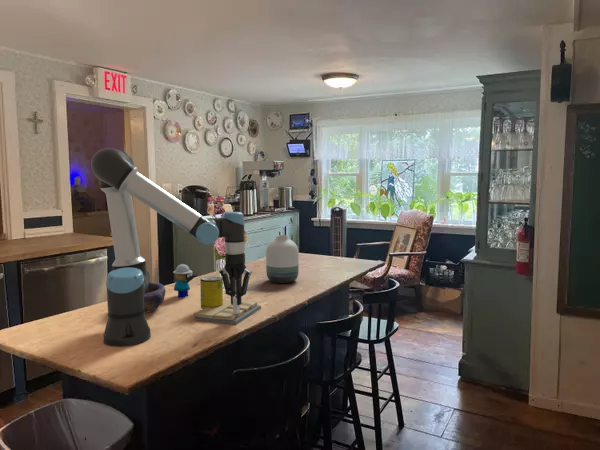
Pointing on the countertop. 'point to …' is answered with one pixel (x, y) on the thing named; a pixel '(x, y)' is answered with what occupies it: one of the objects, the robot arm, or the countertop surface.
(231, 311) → the tan flat block
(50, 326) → the countertop surface
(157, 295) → the bowl
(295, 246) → the vase
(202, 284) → the beverage can
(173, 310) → the countertop surface
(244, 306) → the plank far
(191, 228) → the robot arm
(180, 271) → the toy
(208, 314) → the underlay
